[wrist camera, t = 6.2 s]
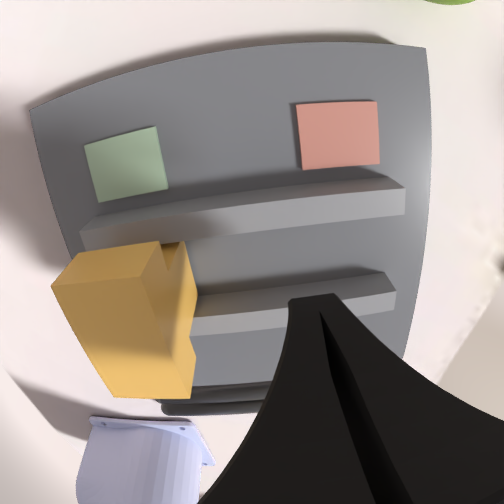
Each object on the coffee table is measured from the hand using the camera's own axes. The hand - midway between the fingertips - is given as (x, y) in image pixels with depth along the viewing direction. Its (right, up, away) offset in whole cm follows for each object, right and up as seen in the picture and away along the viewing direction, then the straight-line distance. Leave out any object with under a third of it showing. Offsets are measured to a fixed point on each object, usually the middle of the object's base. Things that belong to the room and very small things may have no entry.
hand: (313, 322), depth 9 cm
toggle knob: (-6, +1, +4) cm, 7 cm away
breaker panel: (-2, +1, +6) cm, 7 cm away
